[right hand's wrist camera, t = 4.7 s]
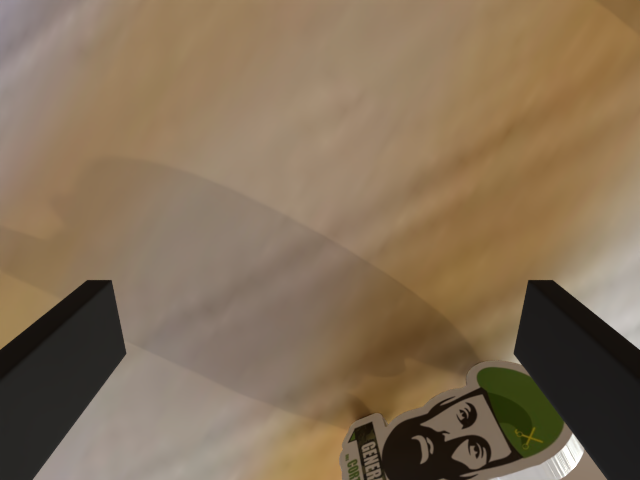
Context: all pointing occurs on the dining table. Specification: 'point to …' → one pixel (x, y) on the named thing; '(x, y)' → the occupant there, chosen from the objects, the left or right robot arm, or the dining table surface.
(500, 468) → the cutout
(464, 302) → the dining table surface
